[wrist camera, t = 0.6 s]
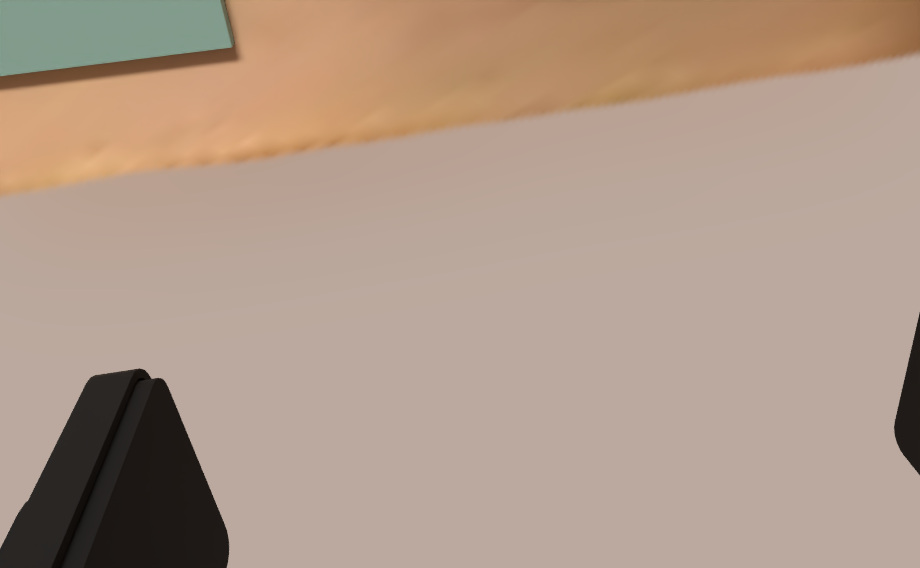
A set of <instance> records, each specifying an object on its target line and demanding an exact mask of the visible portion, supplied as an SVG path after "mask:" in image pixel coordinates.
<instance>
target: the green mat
mask: <svg viewBox="0 0 920 568" xmlns="http://www.w3.org/2000/svg"><path fill="white" fill-rule="evenodd" d="M234 43H235V42H234V38H233V34H232V30H231V26H230V22H229V18H228V14H227V10H226V6H225V2H224V0H0V76H6V75H14V74H22V73H30V72H38V71H46V70H54V69H62V68H70V67H78V66H87V65H95V64H103V63H111V62H119V61H127V60H135V59H143V58H151V57H159V56H167V55H175V54H183V53H191V52H199V51H207V50H215V49H223V48H231V47H232V46H233V45H234Z"/></svg>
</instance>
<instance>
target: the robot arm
mask: <svg viewBox="0 0 920 568" xmlns="http://www.w3.org/2000/svg"><path fill="white" fill-rule="evenodd" d="M894 430H895V437H896V441H897V444H898V446H899V448H900V450H901V452H902V453H903V455H904V456H905V457H906V458H907V460H908V461H909V462H910V463H911V465H912V466H913V467H914V468H915V470H916V471H917V472H918V473H919V475H920V314H919V319H918V323H917V327H916V331H915V336H914V340H913V345H912V349H911V354H910V358H909V362H908V367H907V371H906V375H905V380H904V384H903V389H902V393H901V397H900V402H899V406H898V411H897V415H896V419H895V426H894ZM228 557H229V540H228V534H227V530H226V527H225V524H224V522H223V519H222V517H221V515H220V512H219V510H218V507H217V505H216V503H215V500H214V498H213V495H212V493H211V490H210V488H209V485H208V483H207V481H206V478H205V476H204V473H203V471H202V469H201V466H200V463H199V461H198V459H197V457H196V454H195V451H194V449H193V447H192V444H191V442H190V439H189V437H188V434H187V432H186V430H185V427H184V425H183V422H182V420H181V418H180V415H179V413H178V410H177V408H176V405H175V403H174V400H173V398H172V396H171V393H170V391H169V388H168V386H167V384H166V383H165V381H164V380H163V379H161V378H155V379H151V378H150V376H149V374H148V373H147V372H146V371H145V370H143V369H134V370H128V371H121V372H115V373H108V374H101V375H95V376H93V377H91V378H90V379H89V380H88V382H87V383H86V385H85V387H84V389H83V391H82V393H81V395H80V397H79V399H78V401H77V403H76V405H75V407H74V409H73V411H72V413H71V415H70V417H69V419H68V421H67V423H66V426H65V427H64V429H63V432H62V434H61V435H60V437H59V440H58V441H57V444H56V446H55V448H54V450H53V452H52V454H51V456H50V458H49V460H48V462H47V464H46V466H45V468H44V470H43V472H42V474H41V476H40V478H39V480H38V482H37V484H36V486H35V488H34V490H33V492H32V494H31V496H30V498H29V500H28V501H27V502H26V503H25V504H24V506H23V507H22V509H21V510H20V512H19V513H18V515H17V517H16V519H15V521H14V523H13V524H12V527H11V528H10V531H9V532H8V534H7V537H6V539H5V540H4V543H3V544H2V546H1V548H0V568H227V563H228Z"/></svg>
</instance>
